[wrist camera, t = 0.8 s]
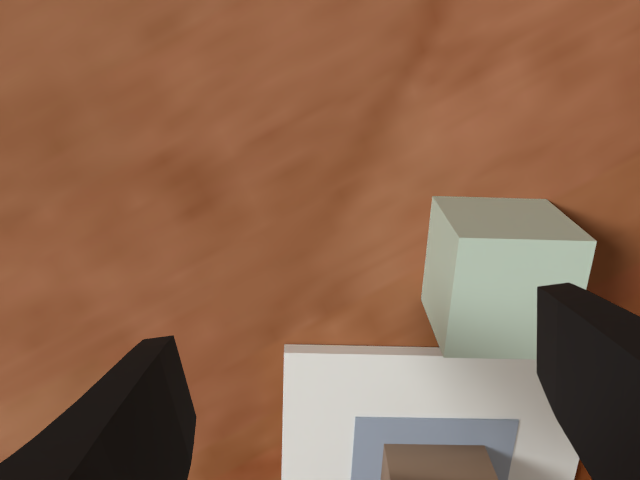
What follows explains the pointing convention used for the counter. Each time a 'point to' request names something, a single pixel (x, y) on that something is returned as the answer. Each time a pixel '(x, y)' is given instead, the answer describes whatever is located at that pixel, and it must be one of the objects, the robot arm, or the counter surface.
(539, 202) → the green block
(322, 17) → the counter surface
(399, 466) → the walnut block
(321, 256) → the counter surface
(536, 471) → the white square board
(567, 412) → the robot arm
